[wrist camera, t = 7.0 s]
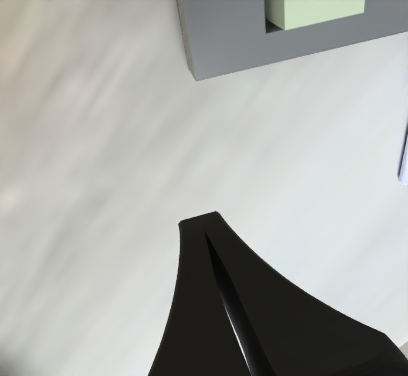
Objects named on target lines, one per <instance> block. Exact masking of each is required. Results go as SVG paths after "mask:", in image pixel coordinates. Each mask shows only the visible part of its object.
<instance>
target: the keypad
mask: <svg viewBox="0 0 408 376" xmlns="http://www.w3.org/2000/svg"><path fill="white" fill-rule="evenodd" d="M177 5H178V10H179V16H180V22H181V27H182V33H183V39H184V45H185V50H186V56H187V62H188V67H189V70H190V72H191V74H192V75H193V77H194V79H195V80H196V81H199V80H204V79H208V78H212V77H216V76H221V75H225V74H229V73H233V72H237V71H242V70H246V69H250V68H254V67H259V66H263V65H267V64H271V63H276V62H280V61H284V60H288V59H293V58H297V57H301V56H305V55H309V54H314V53H318V52H322V51H326V50H331V49H335V48H339V47H343V46H348V45H352V44H356V43H360V42H365V41H369V40H373V39H377V38H381V37H386V36H390V35H394V34H398V33H403V32H407V31H408V0H365V4H364V13H359V14H355V15H351V16H346V17H342V18H338V19H333V20H329V21H324V22H320V23H316V24H311V25H307V26H302V27H298V28H294V29H289V30H283V29H282V28H280V27H278V26H277V25H275V24H274V23H272V22H270V21H269V22H265V9H264V0H177Z"/></svg>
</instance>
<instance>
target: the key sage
mask: <svg viewBox="0 0 408 376" xmlns="http://www.w3.org/2000/svg"><path fill="white" fill-rule="evenodd" d="M364 4H365V0H264V9H265V19H267V20H269V21H270V22H272V23H274V24H275V25H277V26H278V27H280V28H282V29H283V30H289V29H294V28H298V27H302V26H307V25H311V24H316V23H320V22H324V21H329V20H333V19H338V18H342V17H346V16H351V15H355V14H359V13H364Z"/></svg>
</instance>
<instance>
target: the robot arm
mask: <svg viewBox="0 0 408 376" xmlns="http://www.w3.org/2000/svg"><path fill="white" fill-rule="evenodd" d="M399 181H400V183H402V184H403V185H407V184H408V136H407V141H406V146H405V151H404V156H403V161H402V166H401V171H400V176H399ZM178 225H179V231H180V255H179V266H178V274H177V280H176V286H175V292H174V297H173V301H172V305H171V309H170V313H169V317H168V321H167V324H166V327H165V331H164V334H163V337H162V340H161V343H160V346H159V349H158V351H157V354H156V356H155V359H154V362H153V364H152V367H151V369H150V372H149V374H148V376H251V375H252V376H408V360H407V358H406V357H405V355H404V354H403V353H402V352H401V351H400V350H399V348H398V347H397V346H396V345H395V344H394V343H393V342H392V341H391V340H390V339H389V337H388V336H387V335H386V334H385V333H382V332H380V331H378V330H376V329H374V328H371V327H369V326H367V325H365V324H363V323H360V322H358V321H356V320H354V319H352V318H350V317H348V316H346V315H345V314H343V313H341V312H339V311H337V310H335V309H333V308H332V307H330V306H328V305H327V304H325V303H323V302H321V301H320V300H318V299H316V298H315V297H313V296H311V295H310V294H308V293H307V292H305V291H304V290H302V289H301V288H299V287H298V286H296V285H295V284H293V283H292V282H290V281H289V280H288V279H286V278H285V277H284V276H282V275H281V274H280V273H278V272H277V271H276V270H275V269H273V268H272V267H271V266H270V265H269V264H267V263H266V262H265V261H264V260H263V259H262V258H260V257H259V256H258V255H257V254H256V253H255V252H254V251H253V250H252V249H251V248H250V247H249V246H248V245H247V244H246V243H245V242H244V241H243V240H242V239H241V238H240V237H239V236H238V235H237V234H236V233H235V232H234V231H233V230H232V229H231V227H230V226H229V225H228V224H227V223H226V221H225V220H224V219H223V217H222V216H221V215H220V213H218V212H216V211H215V212H211V213H207V214H204V215H200V216H196V217H193V218H189V219H185V220H182V221H180V223H179V224H178ZM223 303H224V304H223ZM224 305H225V306H224ZM225 308H226V309H225ZM226 310H227V312H228V314H227V312H226ZM228 315H229V317H230V319H231V322H232V324H233V326H234V329H235V331H236V333H237V336H238V338H239V340H240V343H241V346H242V348H243V351H244V354H245V357H246V360H247V363H248V366H249V368H248V366H247V363H246V361H245V358H244V356H243V353H242V351H241V348H240V346H239V343H238V341H237V338H236V335H235V333H234V330H233V328H232V325H231V322H230V320H229V317H228ZM249 369H250V371H249ZM250 372H251V373H250Z"/></svg>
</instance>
